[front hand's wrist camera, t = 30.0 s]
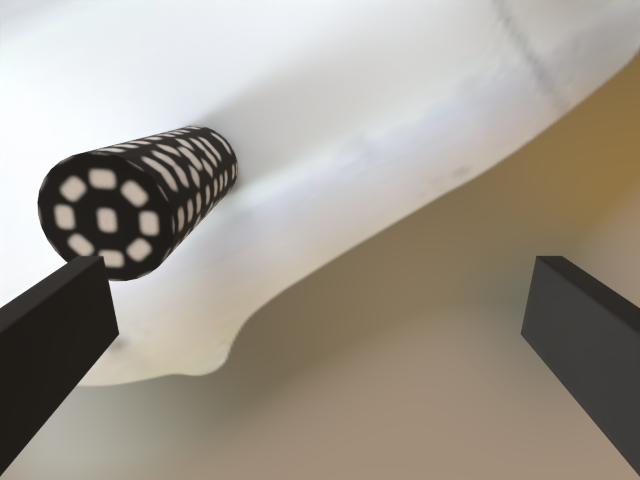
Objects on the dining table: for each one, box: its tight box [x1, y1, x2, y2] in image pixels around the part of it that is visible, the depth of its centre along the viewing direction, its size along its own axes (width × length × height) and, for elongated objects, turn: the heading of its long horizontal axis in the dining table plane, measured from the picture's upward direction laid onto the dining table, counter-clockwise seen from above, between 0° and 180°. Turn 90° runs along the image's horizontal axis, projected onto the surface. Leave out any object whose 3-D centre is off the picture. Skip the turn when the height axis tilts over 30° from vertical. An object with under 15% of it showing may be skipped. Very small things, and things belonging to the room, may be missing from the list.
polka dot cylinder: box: [38, 126, 237, 281], centre depth 34 cm, size 8×8×20 cm
